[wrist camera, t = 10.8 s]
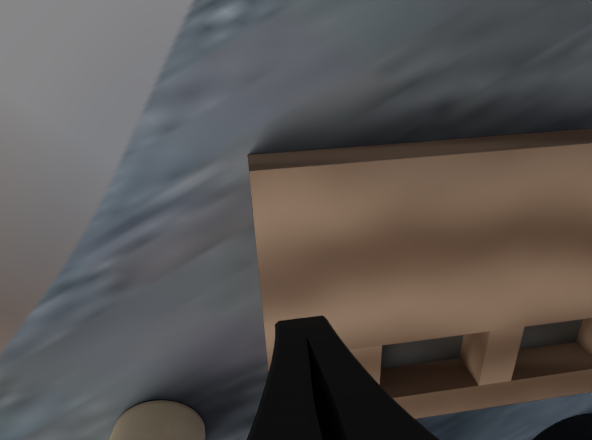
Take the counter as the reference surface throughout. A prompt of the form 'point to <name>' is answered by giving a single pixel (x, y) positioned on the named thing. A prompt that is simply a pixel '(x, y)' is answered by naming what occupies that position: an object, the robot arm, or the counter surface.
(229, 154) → the counter surface
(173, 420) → the cream domed cylinder
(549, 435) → the water bottle
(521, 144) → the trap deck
